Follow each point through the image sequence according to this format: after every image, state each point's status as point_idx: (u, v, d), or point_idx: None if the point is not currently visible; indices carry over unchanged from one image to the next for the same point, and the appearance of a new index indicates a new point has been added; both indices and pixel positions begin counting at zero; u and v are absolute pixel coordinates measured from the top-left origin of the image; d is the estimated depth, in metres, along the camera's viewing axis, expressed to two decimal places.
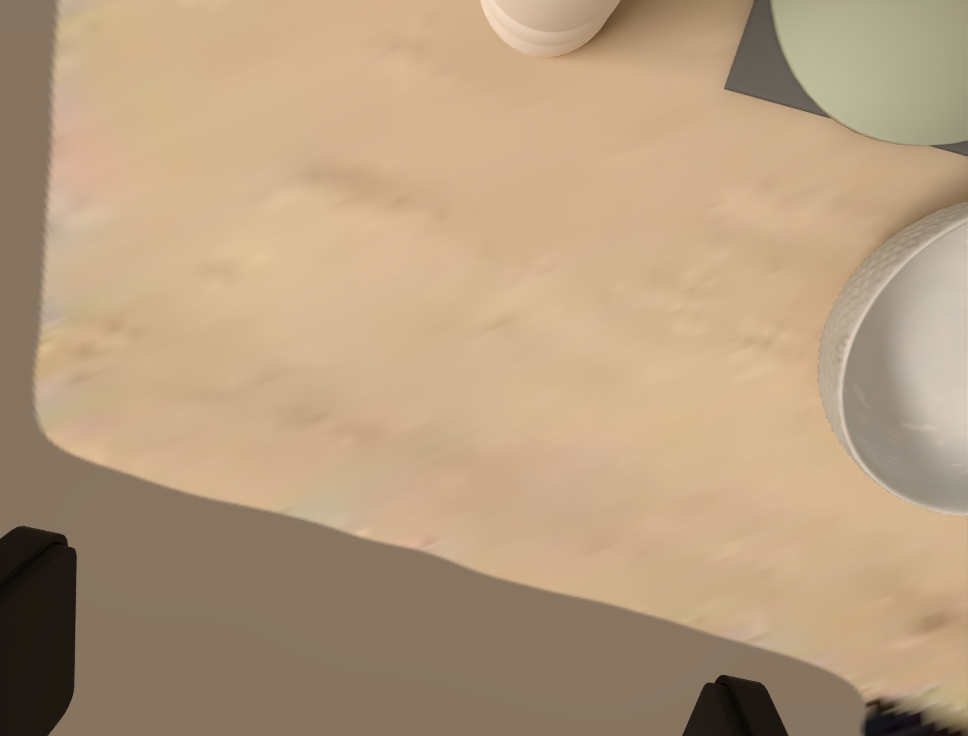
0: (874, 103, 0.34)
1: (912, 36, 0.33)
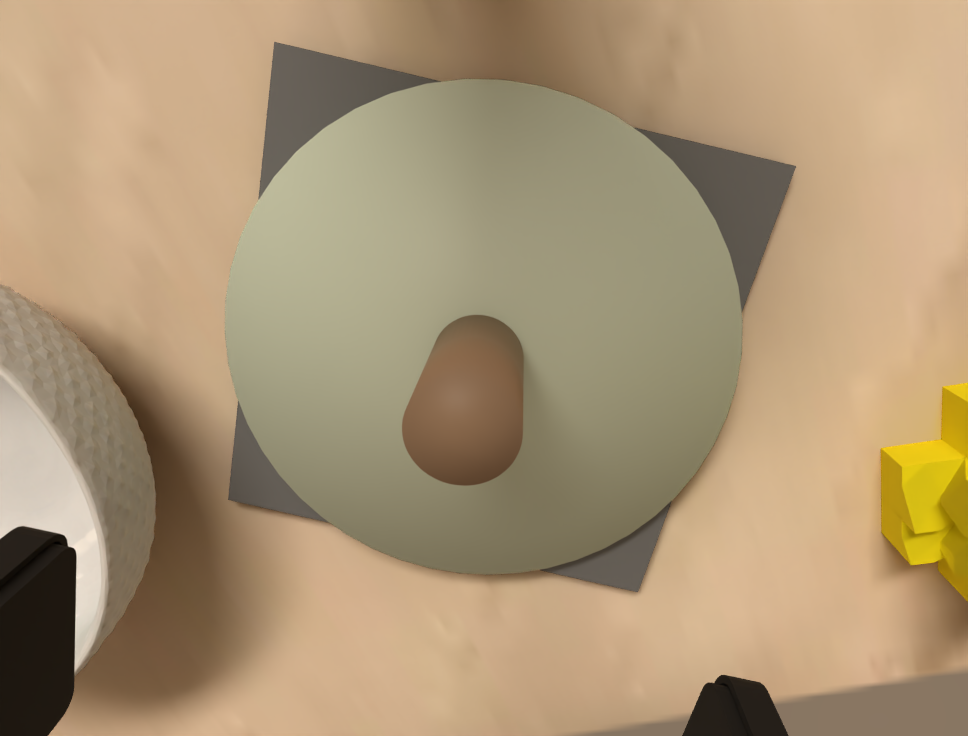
0: (271, 276, 0.22)
1: (364, 311, 0.23)
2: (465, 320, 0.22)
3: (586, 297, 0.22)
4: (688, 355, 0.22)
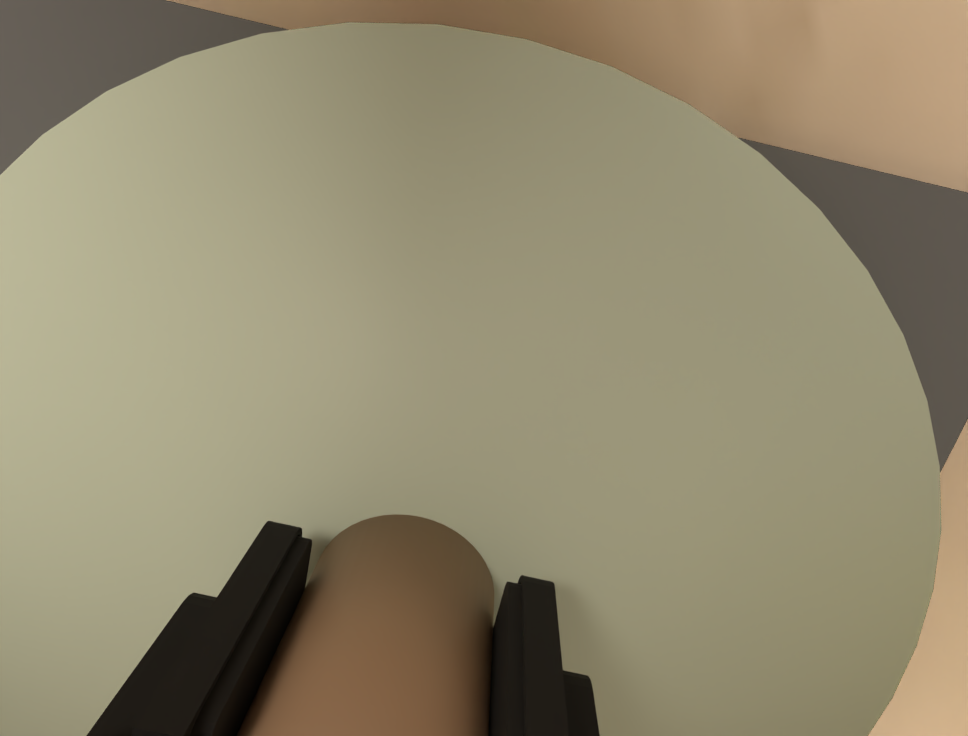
0: None
1: (170, 506, 0.11)
2: (370, 536, 0.10)
3: (621, 484, 0.11)
4: (825, 592, 0.11)
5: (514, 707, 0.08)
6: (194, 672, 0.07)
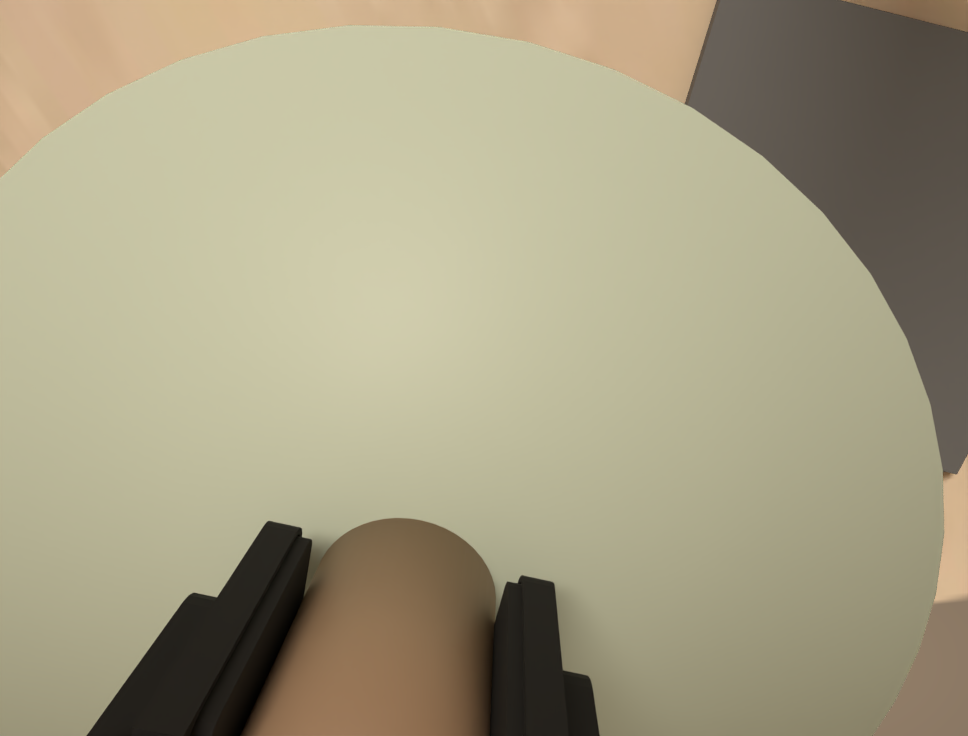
0: None
1: (170, 509, 0.11)
2: (372, 540, 0.10)
3: (623, 487, 0.11)
4: (827, 595, 0.11)
5: (514, 707, 0.08)
6: (194, 672, 0.07)
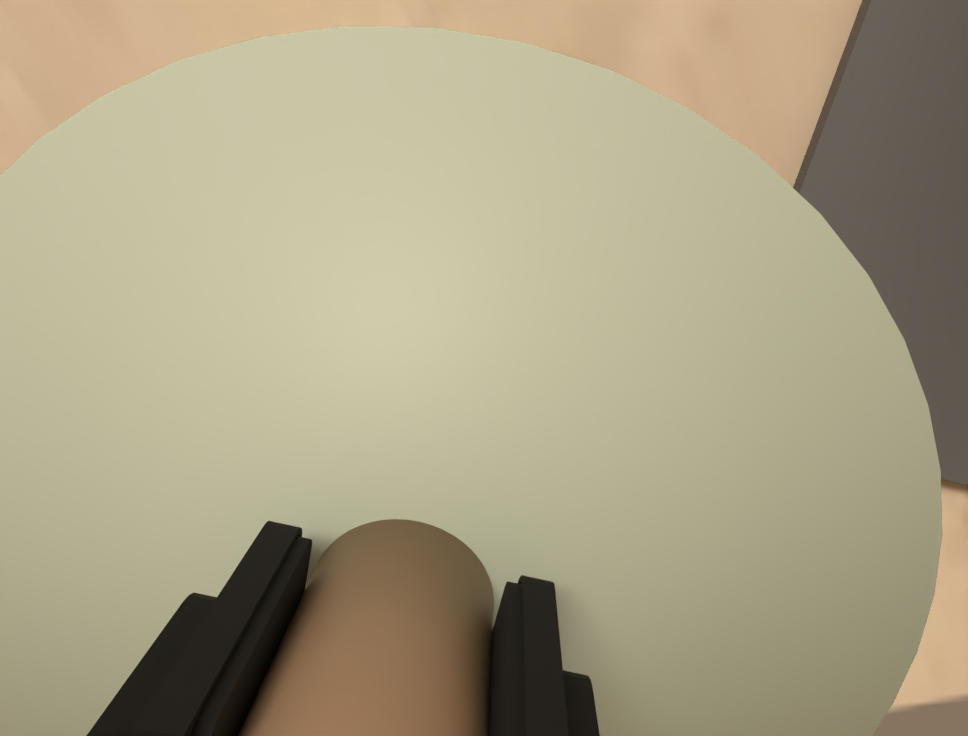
0: None
1: (168, 511, 0.11)
2: (369, 541, 0.10)
3: (621, 489, 0.11)
4: (825, 597, 0.11)
5: (514, 707, 0.08)
6: (194, 672, 0.07)
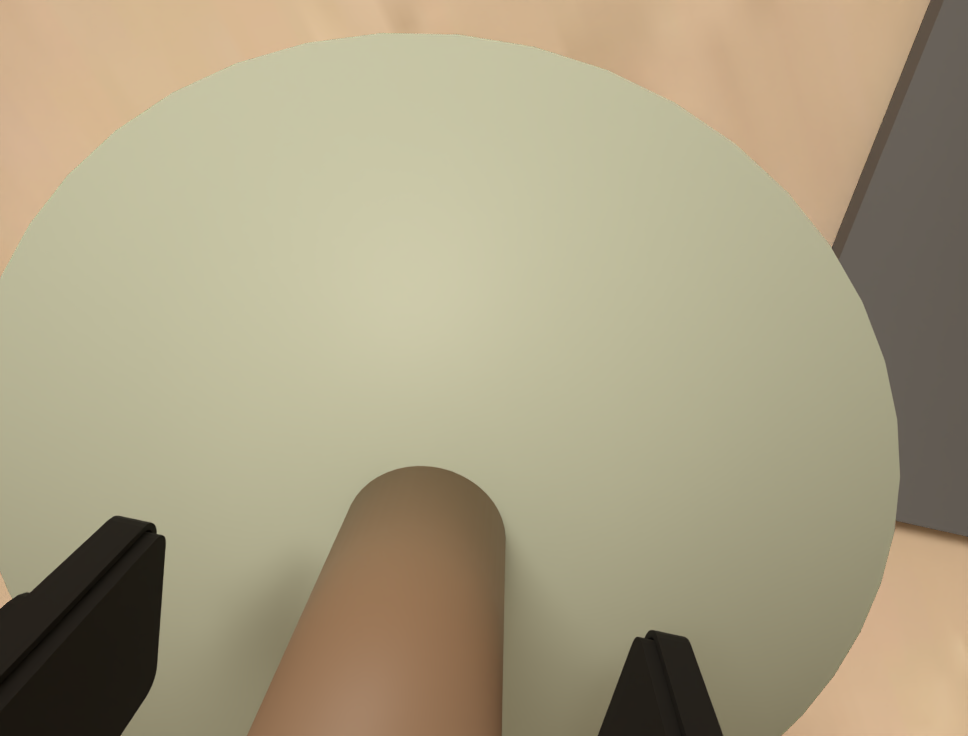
0: (46, 400, 0.12)
1: (218, 459, 0.13)
2: (397, 483, 0.12)
3: (618, 437, 0.12)
4: (798, 534, 0.13)
5: None
6: None
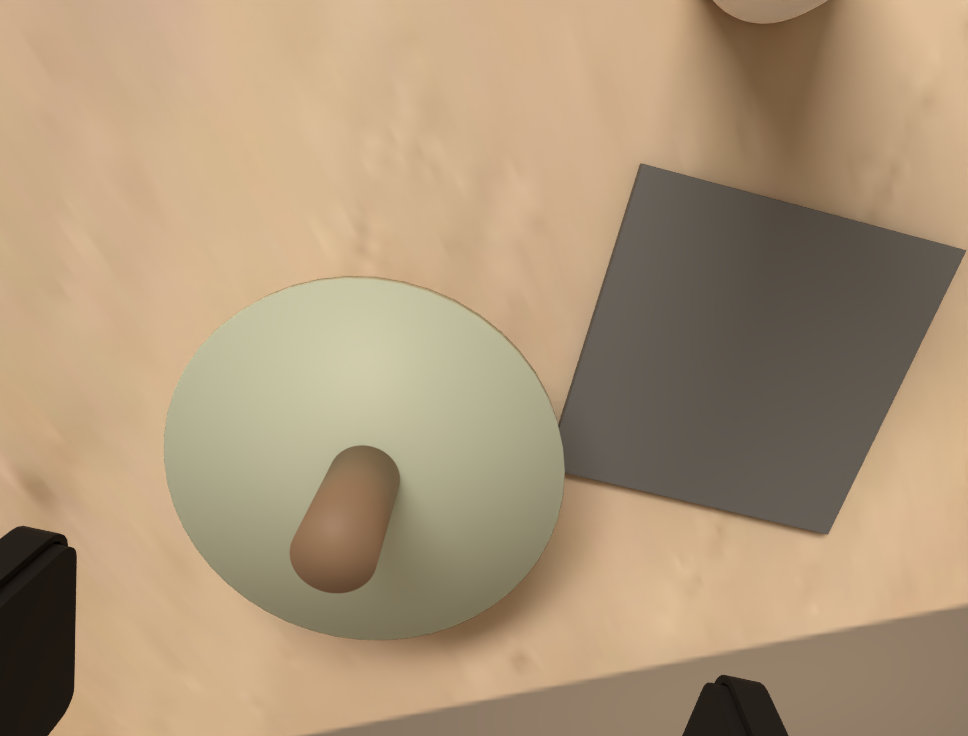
0: (200, 418, 0.29)
1: (274, 443, 0.29)
2: (351, 452, 0.28)
3: (444, 432, 0.29)
4: (525, 473, 0.29)
5: None
6: None
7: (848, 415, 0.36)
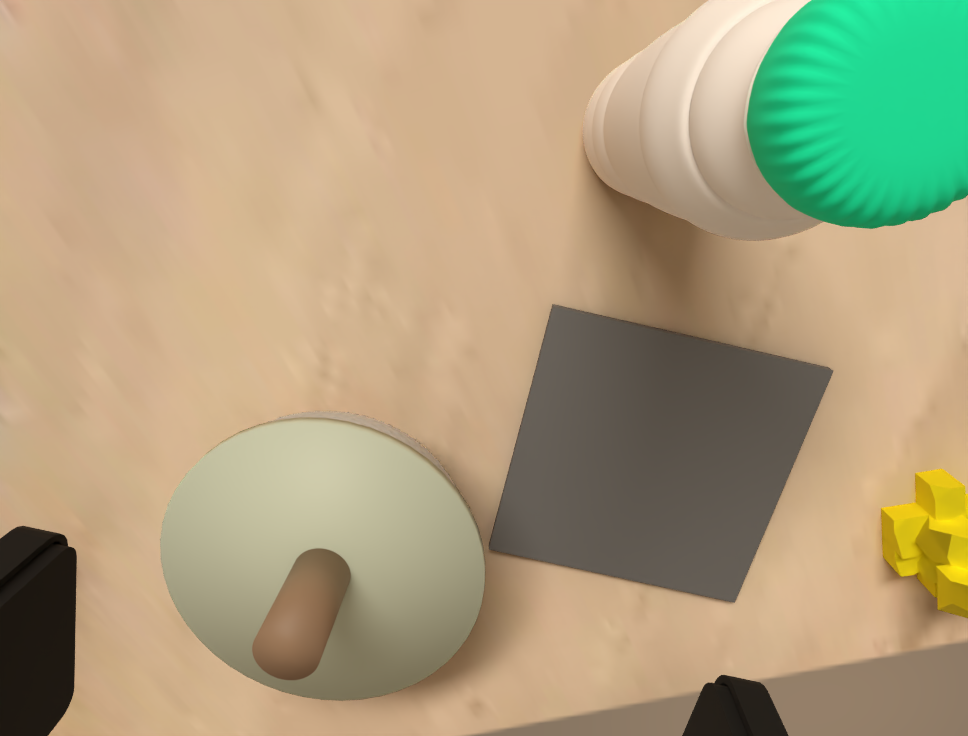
0: (188, 526, 0.35)
1: (248, 546, 0.36)
2: (309, 555, 0.35)
3: (385, 538, 0.35)
4: (452, 571, 0.36)
5: None
6: None
7: (743, 505, 0.42)
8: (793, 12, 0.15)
